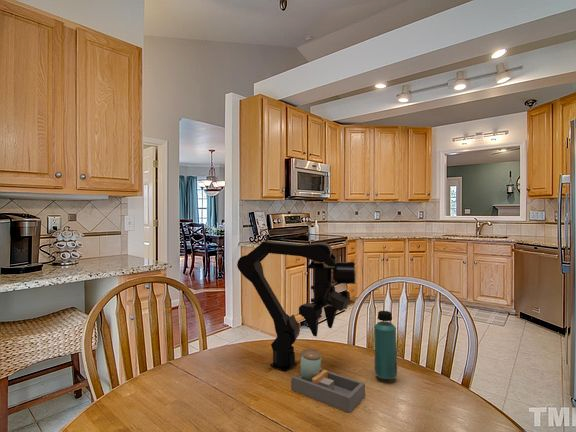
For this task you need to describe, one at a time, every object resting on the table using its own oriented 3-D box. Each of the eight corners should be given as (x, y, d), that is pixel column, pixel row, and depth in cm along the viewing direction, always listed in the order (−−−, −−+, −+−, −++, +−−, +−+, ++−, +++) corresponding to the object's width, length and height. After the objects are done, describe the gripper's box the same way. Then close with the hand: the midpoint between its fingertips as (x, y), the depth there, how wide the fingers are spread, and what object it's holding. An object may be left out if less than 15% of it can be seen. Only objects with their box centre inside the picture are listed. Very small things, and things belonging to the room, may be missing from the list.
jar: (295, 379, 93) (297, 352, 93) (306, 372, 98) (309, 346, 97) (311, 388, 90) (314, 360, 89) (322, 380, 94) (325, 353, 94)
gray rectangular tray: (291, 389, 92) (291, 377, 92) (309, 376, 99) (309, 365, 99) (349, 412, 81) (349, 398, 81) (365, 396, 88) (365, 382, 88)
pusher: (311, 391, 89) (311, 378, 89) (324, 381, 94) (324, 369, 94) (325, 396, 87) (325, 383, 87) (337, 385, 92) (337, 373, 92)
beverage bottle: (398, 385, 94) (398, 315, 94) (374, 383, 95) (374, 314, 95) (395, 374, 100) (395, 309, 100) (373, 372, 101) (373, 308, 101)
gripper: (330, 291, 91) (330, 347, 91) (358, 280, 106) (359, 328, 106) (297, 286, 98) (297, 338, 98) (328, 277, 113) (329, 322, 113)
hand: (322, 331), depth 104 cm, fingers open, 9 cm apart
